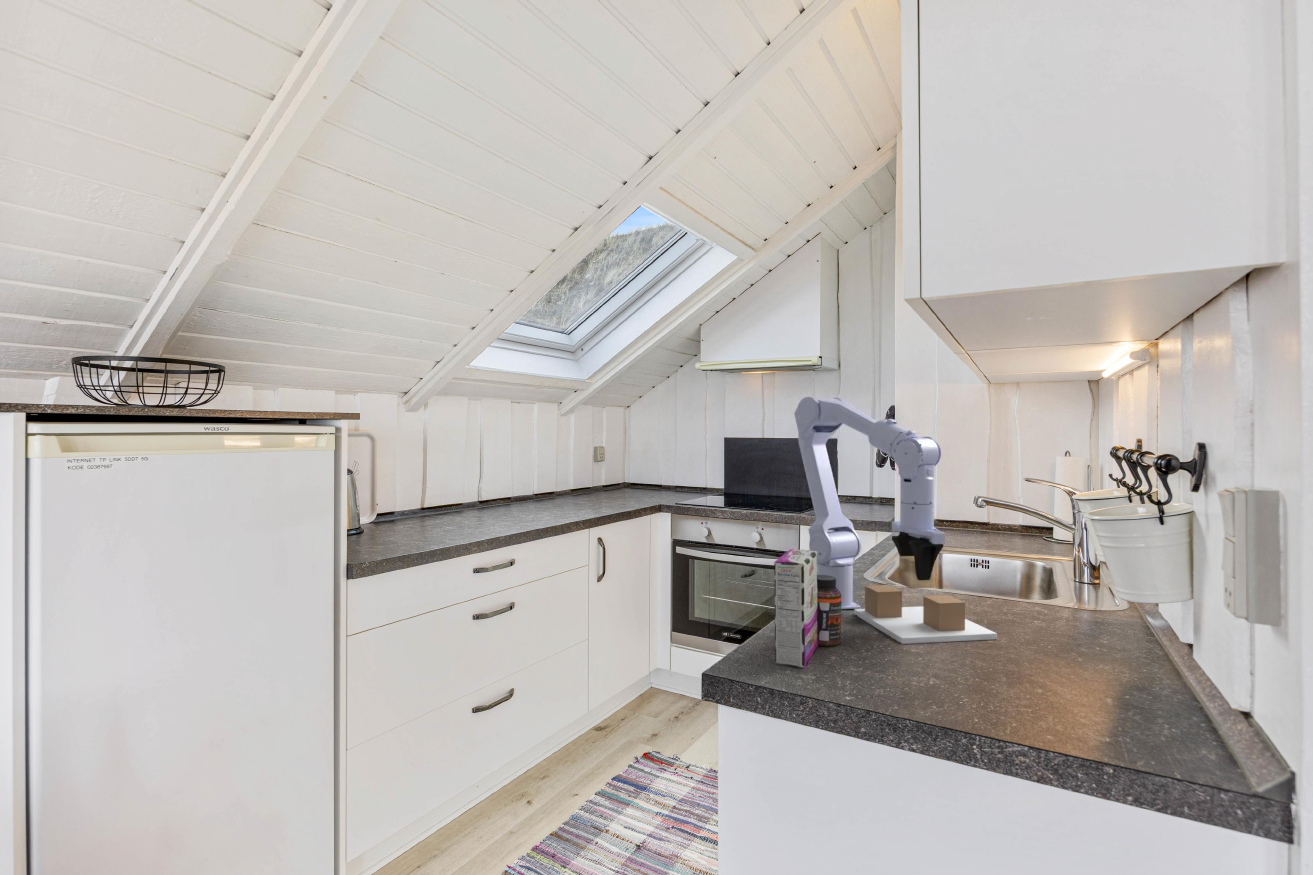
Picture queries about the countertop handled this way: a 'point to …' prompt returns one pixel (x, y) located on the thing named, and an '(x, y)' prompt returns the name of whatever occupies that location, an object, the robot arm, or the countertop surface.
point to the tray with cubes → (919, 618)
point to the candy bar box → (796, 607)
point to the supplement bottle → (828, 611)
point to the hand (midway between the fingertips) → (916, 576)
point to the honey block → (910, 574)
